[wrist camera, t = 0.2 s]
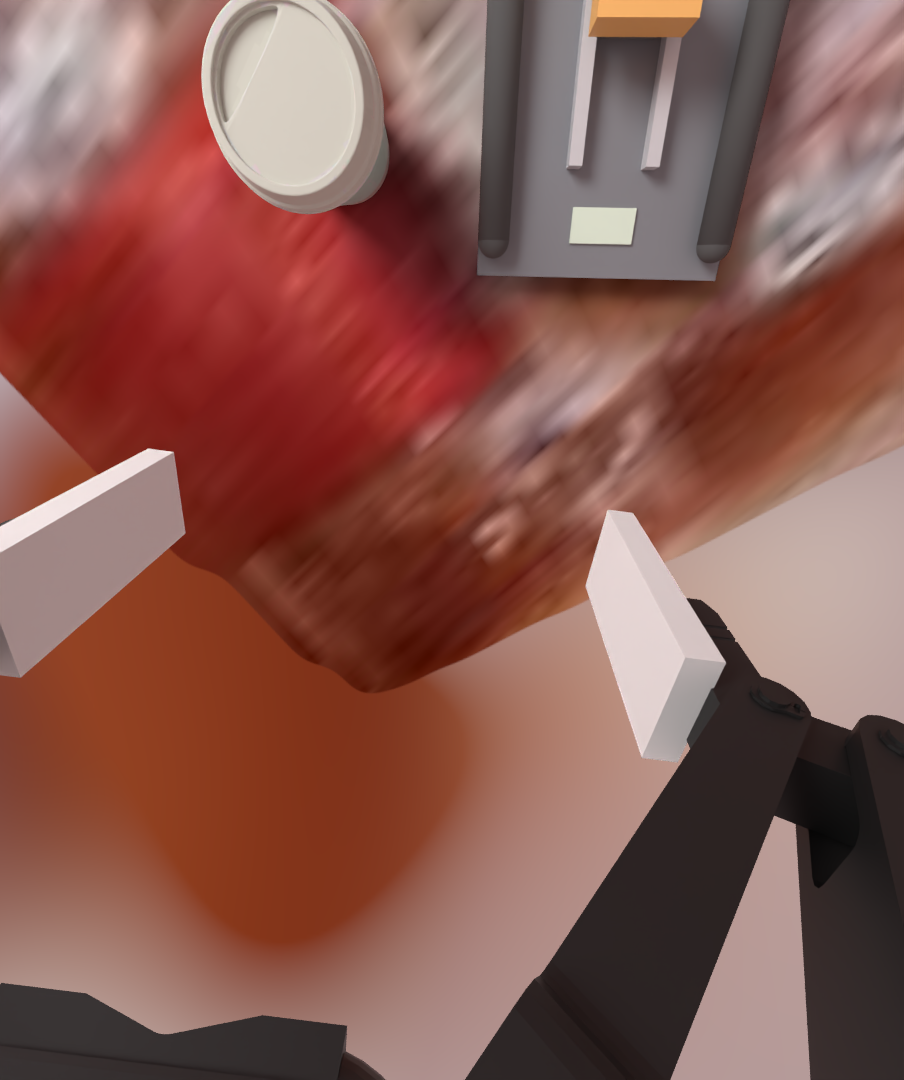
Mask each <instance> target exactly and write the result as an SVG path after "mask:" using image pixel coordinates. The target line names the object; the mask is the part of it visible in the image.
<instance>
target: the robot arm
mask: <svg viewBox="0 0 904 1080" xmlns="http://www.w3.org/2000/svg"><path fill="white" fill-rule="evenodd" d="M184 534H185V527H184V520H183V513H182V507H181V500H180V493H179V486H178V479H177V472H176V465H175V458H174V452H169V451H162V450H154V449H147V450H145V451H143V452H141V453H139V454H137V455H135V456H133V457H131V458H129V459H128V460H126V461H124V462H122V463H120V464H118V465H116V466H114V467H112V468H110V469H109V470H107V471H105V472H103V473H101V474H99V475H97V476H95V477H93V478H92V479H90V480H88V481H86V482H84V483H82V484H80V485H78V486H76V487H74V488H72V489H70V490H69V491H67V492H65V493H63V494H61V495H59V496H58V497H55V498H54V499H51V500H50V501H48V502H46V503H44V504H42V505H40V506H39V507H36V508H34V509H32V510H31V511H29V512H27V513H25V514H23V515H21V516H19V517H17V518H14V519H11V520H8V521H5V522H3V523H1V524H0V675H4V676H12V677H22V676H23V675H24V674H25V673H26V672H28V671H29V670H30V669H31V668H32V667H33V666H34V665H35V664H37V663H38V662H39V661H40V660H41V659H42V658H44V657H45V656H46V655H47V654H48V653H49V652H50V651H51V650H53V649H54V648H55V647H56V646H57V645H58V644H59V643H61V642H62V641H63V640H64V639H65V638H66V637H67V636H69V635H70V634H71V633H72V632H73V631H74V630H75V629H77V628H78V627H79V626H80V625H81V624H82V623H84V622H85V621H86V620H87V619H88V618H89V617H90V616H92V615H93V614H94V613H95V612H96V611H97V610H98V609H100V608H101V607H102V606H103V605H104V604H105V603H106V602H108V601H109V600H110V599H111V598H112V597H113V596H114V595H116V593H118V592H119V591H120V590H121V589H122V588H123V587H125V586H126V585H127V584H128V583H129V582H130V581H131V580H133V579H134V578H135V577H136V576H137V575H138V574H140V573H141V572H142V571H143V570H144V569H145V568H146V567H147V566H149V565H150V564H151V563H152V562H153V561H154V560H156V559H157V558H158V557H159V556H160V555H161V554H162V553H164V552H165V551H166V550H167V549H168V548H169V547H170V546H172V545H173V544H174V543H175V542H176V541H177V540H178V539H180V538H181V537H182V536H183V535H184ZM586 589H587V592H588V595H589V598H590V601H591V604H592V607H593V610H594V613H595V616H596V619H597V622H598V625H599V628H600V632H601V635H602V638H603V641H604V644H605V647H606V650H607V653H608V656H609V659H610V662H611V665H612V668H613V671H614V674H615V678H616V680H617V683H618V687H619V690H620V693H621V696H622V699H623V702H624V705H625V708H626V711H627V714H628V717H629V720H630V723H631V726H632V730H633V732H634V735H635V738H636V742H637V745H638V748H639V751H640V754H641V757H642V758H648V759H656V760H664V761H671V762H678V760H679V758H680V756H681V754H682V752H683V750H684V748H685V746H686V744H687V742H688V744H689V747H690V750H689V752H688V754H687V755H686V756H685V758H684V759H683V761H682V763H681V764H680V766H679V767H678V769H677V770H676V772H675V773H674V775H673V776H672V778H671V779H670V781H669V782H668V784H667V785H666V787H665V788H664V790H663V791H662V793H661V794H660V796H659V797H658V799H657V800H656V802H655V803H654V805H653V807H652V808H651V810H650V811H649V813H648V814H647V816H646V817H645V819H644V820H643V822H642V823H641V825H640V826H639V828H638V829H637V831H636V833H635V834H634V835H633V837H632V838H631V840H630V841H629V843H628V844H627V846H626V847H625V849H624V850H623V852H622V853H621V855H620V857H619V858H618V860H617V861H616V863H615V864H614V866H613V867H612V869H611V870H610V872H609V873H608V875H607V876H606V878H605V879H604V881H603V882H602V884H601V885H600V887H599V888H598V890H597V891H596V893H595V894H594V896H593V898H592V899H591V900H590V902H589V904H588V905H587V907H586V908H585V910H584V911H583V913H582V914H581V916H580V917H579V919H578V920H577V922H576V923H575V925H574V926H573V928H572V930H571V931H570V932H569V934H568V935H567V937H566V939H565V940H564V941H563V943H562V945H561V946H560V948H559V949H558V951H557V952H556V954H555V955H554V957H553V958H552V960H551V961H550V963H549V964H548V965H547V967H546V968H545V970H544V971H543V972H542V974H541V975H540V976H538V977H537V978H535V979H534V980H533V981H532V983H531V984H530V985H529V986H528V988H527V989H526V990H525V992H524V993H523V994H522V996H521V997H520V999H519V1000H518V1002H517V1003H516V1004H515V1006H514V1007H513V1009H512V1010H511V1012H510V1013H509V1015H508V1016H507V1018H506V1019H505V1021H504V1022H503V1024H502V1025H501V1027H500V1028H499V1030H498V1031H497V1033H496V1034H495V1036H494V1037H493V1039H492V1040H491V1042H490V1043H489V1045H488V1046H487V1047H486V1049H485V1051H484V1052H483V1054H482V1055H481V1056H480V1058H479V1059H478V1061H477V1062H476V1064H475V1066H474V1067H473V1068H472V1070H471V1071H470V1073H469V1075H468V1076H467V1077H466V1079H465V1080H670V1079H671V1076H672V1074H673V1071H674V1069H675V1066H676V1064H677V1061H678V1059H679V1056H680V1053H681V1051H682V1048H683V1046H684V1043H685V1041H686V1038H687V1036H688V1033H689V1031H690V1028H691V1025H692V1023H693V1020H694V1018H695V1015H696V1013H697V1010H698V1008H699V1005H700V1002H701V1000H702V997H703V995H704V992H705V990H706V987H707V985H708V982H709V979H710V977H711V975H712V972H713V969H714V967H715V964H716V962H717V959H718V957H719V954H720V952H721V949H722V946H723V944H724V942H725V939H726V936H727V934H728V931H729V929H730V926H731V924H732V921H733V919H734V916H735V914H736V911H737V908H738V906H739V903H740V901H741V898H742V896H743V893H744V891H745V888H746V886H747V883H748V880H749V878H750V875H751V873H752V870H753V868H754V865H755V863H756V860H757V858H758V855H759V852H760V850H761V847H762V844H763V842H764V840H765V837H766V834H767V832H768V829H769V827H770V824H771V822H772V819H773V817H774V816H777V817H779V818H782V819H785V820H787V821H790V822H792V823H794V824H796V835H797V836H796V837H797V854H798V871H799V888H800V906H801V922H802V940H803V957H804V975H805V992H806V1008H807V1025H808V1043H809V1061H810V1078H811V1080H904V724H902V723H900V722H898V721H896V720H893V719H890V718H886V717H883V716H877V715H867V716H865V717H863V718H861V719H860V720H859V722H858V723H857V724H856V725H855V727H854V728H853V730H848V729H846V728H843V727H840V726H837V725H834V724H831V723H828V722H825V721H822V720H819V719H817V718H814V717H812V716H811V712H810V711H809V709H808V707H807V706H806V704H805V702H803V701H802V700H801V699H800V698H799V697H798V696H797V695H796V694H795V693H794V692H792V691H790V690H789V689H788V688H786V687H784V686H783V685H781V684H779V683H777V682H774V681H772V680H770V679H767V678H764V677H761V676H760V674H759V673H758V672H757V670H756V669H755V667H754V666H753V664H752V663H751V661H750V660H749V658H748V657H747V656H746V654H745V653H744V651H743V650H742V648H741V647H740V645H739V644H738V642H735V638H734V637H733V635H732V634H731V632H730V631H729V630H727V626H726V625H725V623H724V622H723V621H722V619H721V618H720V616H719V615H718V613H716V612H715V611H714V610H713V609H711V608H710V607H709V606H708V605H707V604H705V603H704V602H703V601H701V600H697V599H690V598H686V597H685V596H684V594H683V593H682V591H681V590H680V588H679V586H678V585H677V583H676V581H675V580H674V578H673V577H672V575H671V573H670V572H669V570H668V568H667V567H666V565H665V564H664V562H663V560H662V559H661V557H660V556H659V554H658V552H657V551H656V549H655V548H654V546H653V544H652V543H651V541H650V540H649V538H648V536H647V535H646V533H645V532H644V530H643V528H642V527H641V525H640V524H639V522H638V520H637V519H636V517H635V516H634V514H633V513H629V512H621V511H614V510H608V511H607V514H606V518H605V521H604V525H603V528H602V531H601V535H600V538H599V542H598V545H597V549H596V552H595V555H594V559H593V562H592V566H591V569H590V573H589V576H588V579H587V583H586ZM346 1035H347V1026H344V1025H336V1024H327V1023H320V1022H312V1021H304V1020H296V1019H287V1018H280V1017H272V1016H263V1015H262V1016H258V1017H253V1018H248V1019H243V1020H238V1021H233V1022H228V1023H223V1024H218V1025H213V1026H208V1027H203V1028H198V1029H194V1030H189V1031H184V1032H179V1033H174V1034H158V1033H156V1032H153V1031H152V1030H150V1029H148V1028H146V1027H144V1026H143V1025H141V1024H139V1023H137V1022H136V1021H134V1020H132V1019H130V1018H129V1017H127V1016H125V1015H123V1014H122V1013H120V1012H118V1011H116V1010H115V1009H113V1008H111V1007H109V1006H107V1005H105V1004H104V1003H102V1002H100V1001H99V1000H97V999H95V998H93V997H92V996H90V995H88V994H86V993H78V992H69V991H62V990H53V989H45V988H38V987H30V986H21V985H13V984H5V983H1V984H0V1080H385V1079H384V1078H383V1077H382V1076H381V1075H380V1074H379V1073H378V1072H377V1071H375V1070H374V1069H373V1068H371V1067H370V1066H369V1065H368V1064H366V1063H365V1062H364V1061H362V1060H360V1059H359V1058H357V1057H355V1056H353V1055H351V1054H349V1053H348V1052H346Z"/></svg>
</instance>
